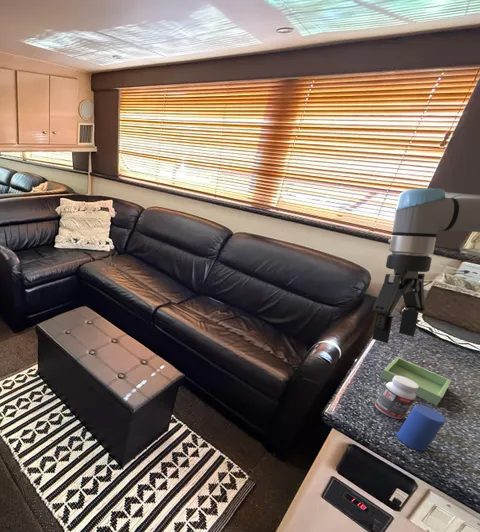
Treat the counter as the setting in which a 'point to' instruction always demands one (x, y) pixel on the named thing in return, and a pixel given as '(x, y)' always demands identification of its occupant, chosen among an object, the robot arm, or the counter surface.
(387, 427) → the counter surface
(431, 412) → the blue cylinder
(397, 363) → the sage tray
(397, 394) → the pill bottle
